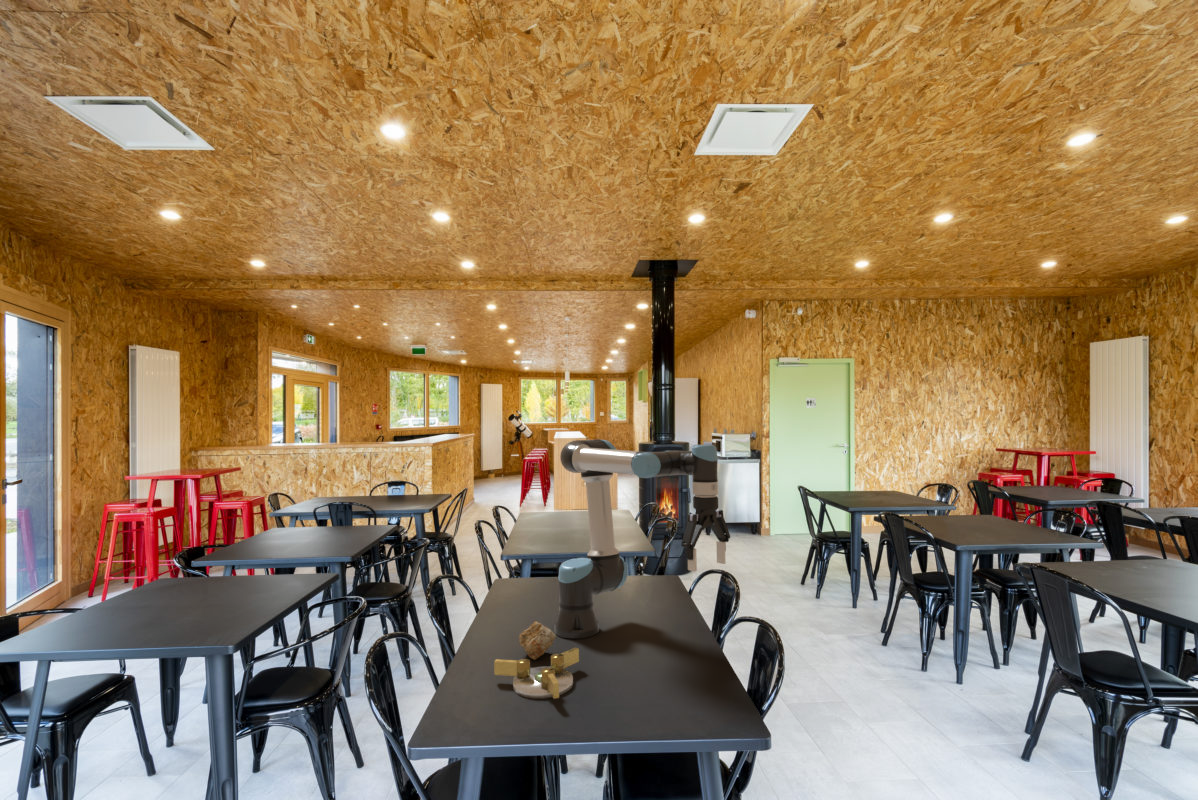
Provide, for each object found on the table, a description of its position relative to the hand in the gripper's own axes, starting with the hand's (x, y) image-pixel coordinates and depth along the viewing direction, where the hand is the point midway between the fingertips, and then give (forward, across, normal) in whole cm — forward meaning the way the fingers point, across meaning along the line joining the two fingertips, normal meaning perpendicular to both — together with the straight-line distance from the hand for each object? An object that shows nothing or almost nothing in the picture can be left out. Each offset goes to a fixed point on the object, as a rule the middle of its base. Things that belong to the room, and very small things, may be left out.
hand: (707, 566), depth 173 cm
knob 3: (+25, -39, +19) cm, 50 cm away
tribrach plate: (+26, -48, +18) cm, 57 cm away
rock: (+27, -38, +35) cm, 59 cm away
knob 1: (+25, -53, +24) cm, 64 cm away
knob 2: (+24, -51, +10) cm, 57 cm away
